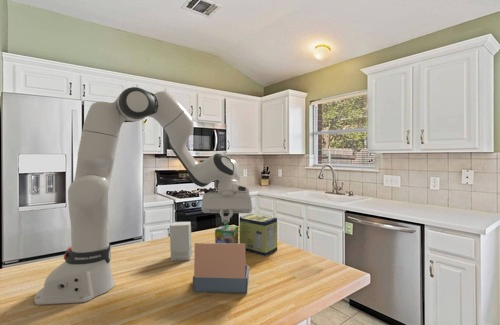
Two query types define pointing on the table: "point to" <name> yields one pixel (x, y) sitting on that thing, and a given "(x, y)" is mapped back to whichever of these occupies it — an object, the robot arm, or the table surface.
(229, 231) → the chalk box
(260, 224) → the protein box
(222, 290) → the mailer
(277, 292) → the table surface
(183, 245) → the skincare box
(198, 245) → the lid
